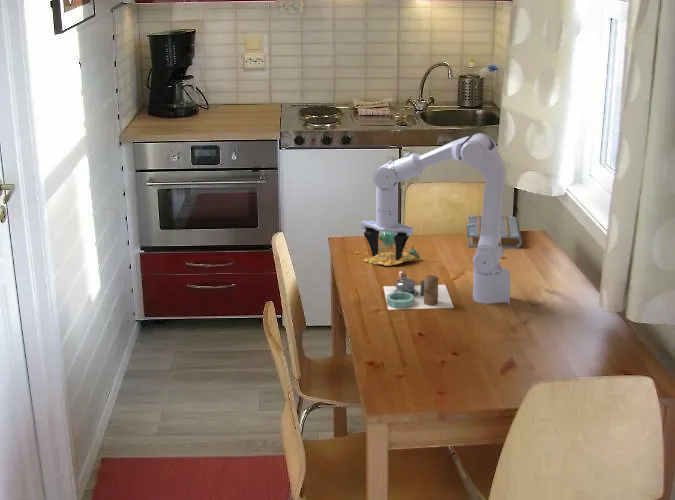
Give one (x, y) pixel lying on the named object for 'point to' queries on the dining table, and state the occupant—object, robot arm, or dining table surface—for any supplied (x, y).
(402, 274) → the grey ball-ended lever
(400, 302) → the socket
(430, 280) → the pin
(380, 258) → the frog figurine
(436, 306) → the board
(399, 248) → the robot arm
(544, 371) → the dining table surface
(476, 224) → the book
